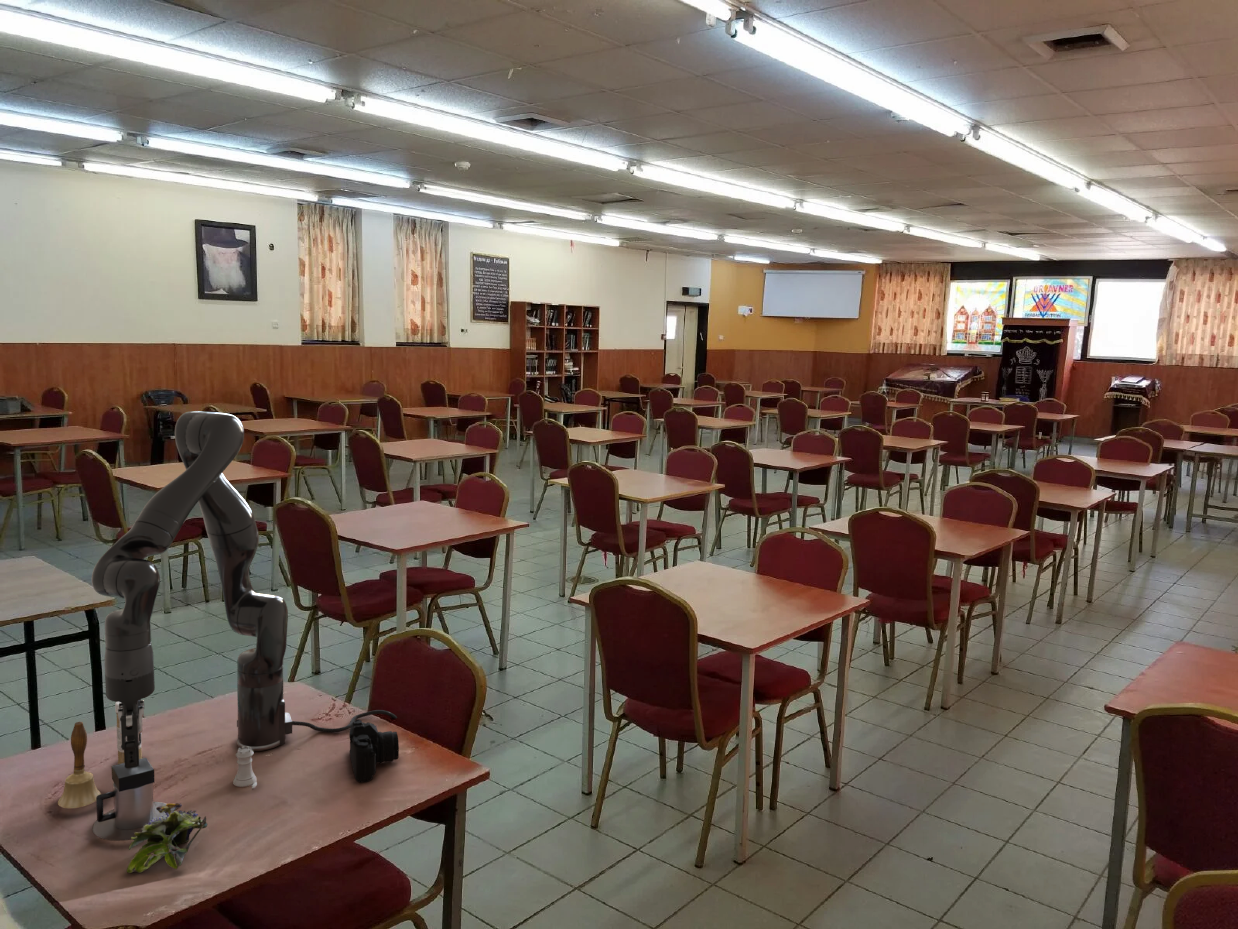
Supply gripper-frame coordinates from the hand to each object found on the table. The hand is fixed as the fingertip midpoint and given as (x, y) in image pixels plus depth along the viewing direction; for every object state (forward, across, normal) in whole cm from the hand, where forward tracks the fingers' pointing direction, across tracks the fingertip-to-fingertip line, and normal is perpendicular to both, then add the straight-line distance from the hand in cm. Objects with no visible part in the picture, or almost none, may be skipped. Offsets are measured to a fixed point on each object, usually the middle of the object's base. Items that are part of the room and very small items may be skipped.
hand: (133, 755), depth 157 cm
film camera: (+14, -8, +44) cm, 46 cm away
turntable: (+13, 0, 0) cm, 13 cm away
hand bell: (+14, -11, -10) cm, 20 cm away
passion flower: (+14, +14, +6) cm, 21 cm away
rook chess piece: (+14, -7, +18) cm, 24 cm away
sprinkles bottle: (+14, -26, -2) cm, 29 cm away
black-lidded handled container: (+12, +1, -2) cm, 12 cm away
